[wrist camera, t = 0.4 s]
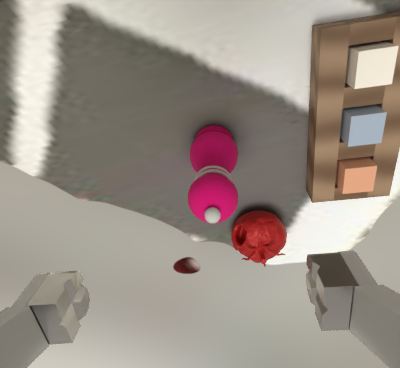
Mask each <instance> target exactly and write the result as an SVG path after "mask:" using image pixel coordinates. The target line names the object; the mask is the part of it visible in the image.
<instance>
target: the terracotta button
mask: <svg viewBox="0 0 400 368" xmlns="http://www.w3.org/2000/svg"><path fill="white" fill-rule="evenodd" d="M376 171H377V165H376V164H375V163H374V162H373V161H372V159H371V158H370V157H369V156H368V157H359V158H350V159H341V160H337V171H336V181H335V183H336V184H337V186H338V188H339V189H340V191H341V192H342V194H349V193H359V192H370V191H373V188H374V182H375V177H376Z"/></svg>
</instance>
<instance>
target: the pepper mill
mask: <svg viewBox="0 0 400 368" xmlns="http://www.w3.org/2000/svg"><path fill="white" fill-rule="evenodd" d="M237 155H238V152H237V147H236V144H235V143H234V141H233V138H232V136H231V134H230V132H229V131H228V130H227V129H225V128H224V127H221V126H218V125H210V126H207V127H204V128H203V129H201V130H200V131H199V132H198V134H197V135H196V138H195V141H194V142H193V144H192V146H191V149H190V161H191V163H192V166H193V168H194V170H195V171H196V172H197V174H196V176H195V178H194V182H193V184H192V185H191V187H190V189H189V192H188V204H189V207H190V209H191V211H192V213H193V214H194V215H195V216H196V217H197V218H199V219H200V220H202V221H204V222H208V223H218V222H222V221H224V220H226V219H227V218H229V217H230V216H231V215H232V214H233V213H234V211H235V209H236V207H237V203H238V193H237V189H236V187H235V185H234V184H233V180H232V177H231V175H230V173H231V172H232V171H233V169H234V167H235V165H236V162H237Z"/></svg>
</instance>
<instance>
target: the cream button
mask: <svg viewBox="0 0 400 368" xmlns="http://www.w3.org/2000/svg"><path fill="white" fill-rule="evenodd" d="M398 47H399V46H398V45H394V44H391V43H388V42H379V43H372V44H365V45H359V46H352V47H348V57H347V68H346V78H345V83H347V84H348V85H349V86H351V87H352V88H354V89H359V88H367V87H374V86H382V85H389V84H392V81H393V75H394V69H395V64H396V58H397V52H398Z"/></svg>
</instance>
